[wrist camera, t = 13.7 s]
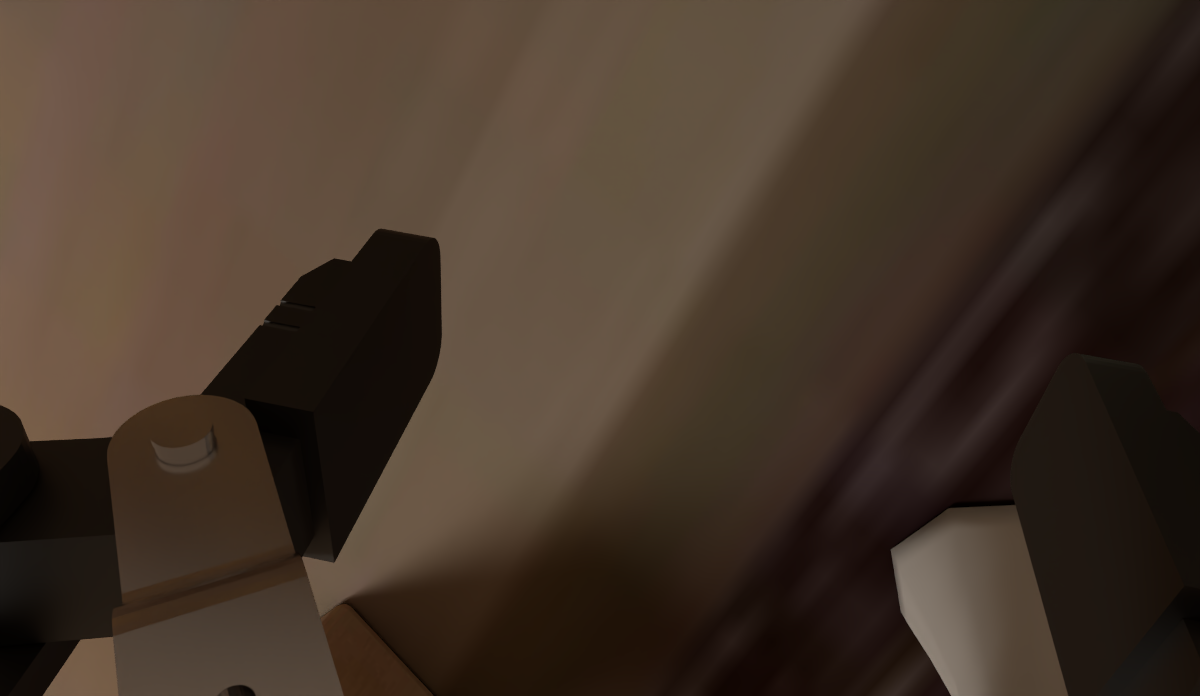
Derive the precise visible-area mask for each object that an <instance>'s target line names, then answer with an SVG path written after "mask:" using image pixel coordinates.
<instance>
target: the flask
mask: <svg viewBox="0 0 1200 696" xmlns="http://www.w3.org/2000/svg"><path fill="white" fill-rule="evenodd" d="M891 554H892V560H893V566H894V572H895V578H896V585H897V591H898V597H899V603H900V609H901V612H902V614H903V616H904V618H905V619H906V621H907V623H908V625H909V626H910V628H911V629H912V631H913V633H914V634H915V636H916V637H917V639H918V640H919V642H920V643H921V645H922V647H923V648H924V650H925V651H926V653H927V654H928V656H929V657H930V659H931V661H932V662H933V664H934V666H935V668H936V669H937V671H938V673H939V675H940V676H941V678H942V680H943V682H944V684H945V685H946V687H947V689H948V691H949V692H950V694H951V696H1068V693H1067V690H1066V686H1065V682H1064V679H1063V675H1062V672H1061V668H1060V664H1059V661H1058V657H1057V654H1056V650H1055V646H1054V643H1053V639H1052V635H1051V632H1050V628H1049V625H1048V621H1047V617H1046V614H1045V610H1044V607H1043V603H1042V599H1041V596H1040V592H1039V588H1038V585H1037V581H1036V578H1035V574H1034V570H1033V567H1032V563H1031V559H1030V556H1029V552H1028V549H1027V545H1026V541H1025V538H1024V534H1023V531H1022V527H1021V523H1020V520H1019V516H1018V512H1017V509H1016V505H1005V506H984V507H963V508H949V509H947V510H946V511H944V512H943V513H942V514H940V515H939V516H937V517H936V518H935V519H933V520H932V521H930V522H929V523H928V524H926V525H925V526H923V527H922V528H921V529H919V530H918V531H916V532H915V533H914V534H912V535H911V536H909V537H908V538H907V539H905V540H904V541H902V542H901V543H900V544H898V545H897V546H895V547H894V548H893V549H891Z"/></svg>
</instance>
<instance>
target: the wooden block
mask: <svg viewBox="0 0 1200 696" xmlns="http://www.w3.org/2000/svg"><path fill="white" fill-rule="evenodd" d="M320 619H321V622H322V625H323V629H324V632H325V635H326V639H327V642H328V645H329V649H330V652H331V655H332V659H333V662H334V665H335V668H336V672H337V675H338V678H339V682H340V685H341V688H342V692H343V695H344V696H434V695H433V694H432V693H431V692H430V691H429V690H428V689H427V688H426V687H425V686H424V685H423V684H422V682H421V681H420V680H419V679H418V678H417V677H416V676H415V675H414V674H413V673H412V672H411V671H410V670H409V668H408V667H407V666H406V665H405V664H404V663H403V662H402V661H401V660H400V659H399V658H398V657H397V656H396V655H395V653H394V652H393V651H392V650H391V649H390V648H389V647H388V646H387V645H386V644H385V643H384V642H383V641H382V640H381V638H380V637H379V636H378V635H377V634H376V633H375V632H374V631H373V630H372V629H371V628H370V627H369V626H368V624H367V623H366V622H365V621H364V620H363V619H362V618H361V617H360V616H359V615H358V614H357V613H356V612H355V611H354V609H353V608H352V607H351V606H349V605H347V604H341V605H339V606H336V607H335V608H333V609H332V610H331V611H329V612H328V613H327V614H325V615H324V616H323V617H321V618H320Z"/></svg>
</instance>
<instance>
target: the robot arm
mask: <svg viewBox="0 0 1200 696" xmlns="http://www.w3.org/2000/svg"><path fill="white" fill-rule="evenodd" d="M441 338H442V320H441V265H440V248H439V244H438V241H437V240H436V239H435V238H431V237H426V236H420V235H414V234H409V233H403V232H397V231H392V230H386V229H378V230H377V231H375V232H374V234H373V235H372V236H371V237H370V239H369V240H368V241H367V242H366V244H365V245H364V246H363V248H362V249H361V250H360V251H359V253H358V254H357V255H356V256H355V258H354V259H353V260H352V262H351V261H345V260H340V259H332V260H330V261H328V262H327V263H325V264H323V265H321V266H319V267H318V268H316V269H314V270H312V271H310V272H308V273H307V274H305V275H303V276H301V277H300V278H299V280H298V281H297V282H296V283H295V284H294V285H293V287H292V288H291V289H290V290H289V291H288V293H287V294H286V295H285V296H284V297H283V298H282V300H281V304H280V306H278V305H276V307H275V308H274V309H273V310H272V311H271V313H270V314H269V315H268V316H267V317H266V318H265V320H264V324H263V326H261V325H259V327H258V328H257V329H256V330H255V331H254V333H253V334H252V335H251V336H250V337H249V338H248V340H247V341H246V342H245V343H244V344H243V345H242V347H241V348H240V349H239V350H238V351H237V352H236V354H235V355H234V356H233V357H232V358H231V360H230V361H229V362H228V363H227V364H226V365H225V367H224V368H223V369H222V370H221V371H220V372H219V374H218V375H217V376H216V377H215V378H214V380H213V381H212V382H211V383H210V384H209V385H208V387H207V388H206V389H205V390H204V391H203V392H202V394H201V395H189V396H183V397H176V398H172V399H169V400H165V401H162V402H159V403H157V404H154V405H151V406H149V407H147V408H145V409H143V410H141V411H140V412H138V413H137V414H135V415H134V416H132V417H131V418H129V419H128V420H127V421H126V422H125V423H124V424H122V425H121V427H120V428H119V429H118V430H117V431H116V432H115V434H114V435H113V437H108V438H93V439H72V440H50V441H29V439H28V437H27V434H26V432H25V429H24V427H23V425H22V422H21V420H20V418H19V417H18V416H17V415H16V414H15V413H14V412H12V411H11V410H10V409H8V408H6V407H3V406H1V405H0V696H43V694H44V693H45V691H46V690H47V688H48V687H49V685H50V684H51V682H52V681H53V679H54V678H55V676H56V675H57V674H58V672H59V671H60V669H61V668H62V666H63V665H64V663H65V662H66V660H67V659H68V657H69V656H70V654H71V653H72V651H73V650H74V649H75V647H76V646H77V644H78V643H79V641H80V640H81V639H92V638H103V637H113V643H114V653H115V664H116V674H117V685H118V695H119V696H344V695H343V692H342V688H341V685H340V682H339V678H338V675H337V672H336V668H335V665H334V662H333V659H332V655H331V652H330V649H329V645H328V642H327V639H326V635H325V632H324V629H323V625H322V622H321V619H320V615H319V612H318V609H317V606H316V602H315V599H314V596H313V592H312V589H311V586H310V582H309V579H308V576H307V572H306V569H305V566H304V563H303V560H302V557H303V556H305V557H310V558H314V559H319V560H324V561H329V562H333V563H334V562H335V560H336V559H337V557H338V555H339V553H340V551H341V549H342V547H343V545H344V543H345V542H346V540H347V538H348V536H349V534H350V532H351V530H352V528H353V527H354V525H355V523H356V521H357V519H358V517H359V515H360V513H361V511H362V510H363V508H364V506H365V504H366V502H367V500H368V498H369V496H370V494H371V493H372V491H373V489H374V487H375V485H376V483H377V481H378V479H379V478H380V476H381V474H382V472H383V470H384V468H385V466H386V464H387V462H388V461H389V459H390V457H391V455H392V453H393V451H394V449H395V447H396V445H397V444H398V442H399V440H400V438H401V436H402V434H403V432H404V430H405V428H406V427H407V425H408V423H409V421H410V419H411V417H412V415H413V413H414V412H415V410H416V408H417V406H418V404H419V402H420V400H421V398H422V396H423V395H424V393H425V391H426V389H427V387H428V385H429V383H430V381H431V379H432V377H433V375H434V372H435V369H436V366H437V362H438V358H439V354H440V348H441ZM1011 490H1012V494H1013V498H1014V502H1015V505H1016V509H1017V512H1018V516H1019V520H1020V523H1021V527H1022V531H1023V534H1024V538H1025V541H1026V545H1027V549H1028V552H1029V556H1030V559H1031V563H1032V567H1033V570H1034V574H1035V578H1036V581H1037V585H1038V588H1039V592H1040V596H1041V599H1042V603H1043V607H1044V610H1045V614H1046V617H1047V621H1048V625H1049V628H1050V632H1051V635H1052V639H1053V643H1054V646H1055V650H1056V654H1057V657H1058V661H1059V664H1060V668H1061V672H1062V675H1063V679H1064V682H1065V686H1066V690H1067V693H1068V696H1200V433H1199V432H1198V431H1197V430H1195V429H1194V428H1193V427H1192V426H1191V425H1190V424H1189V423H1188V422H1187V421H1186V420H1185V419H1184V418H1183V417H1182V416H1181V415H1180V414H1179V413H1177V412H1171V411H1167V410H1166V409H1165V407H1164V405H1163V403H1162V401H1161V399H1160V397H1159V395H1158V393H1157V391H1156V389H1155V388H1154V386H1153V384H1152V382H1151V380H1150V378H1149V376H1148V374H1147V372H1146V371H1145V369H1144V368H1143V367H1142V366H1140V365H1138V364H1134V363H1128V362H1122V361H1117V360H1111V359H1106V358H1100V357H1094V356H1089V355H1083V354H1077V353H1073V354H1070V355H1069V356H1067V357H1066V358H1065V359H1064V360H1063V361H1062V362H1061V364H1060V365H1059V367H1058V369H1057V370H1056V372H1055V374H1054V376H1053V378H1052V380H1051V382H1050V383H1049V385H1048V387H1047V389H1046V391H1045V393H1044V395H1043V397H1042V398H1041V400H1040V402H1039V404H1038V406H1037V408H1036V410H1035V412H1034V414H1033V415H1032V417H1031V419H1030V421H1029V423H1028V425H1027V427H1026V429H1025V430H1024V432H1023V434H1022V436H1021V438H1020V440H1019V442H1018V444H1017V446H1016V449H1015V452H1014V456H1013V460H1012V466H1011Z"/></svg>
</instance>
